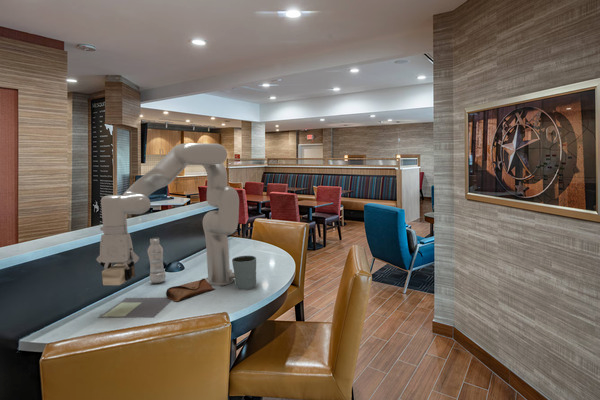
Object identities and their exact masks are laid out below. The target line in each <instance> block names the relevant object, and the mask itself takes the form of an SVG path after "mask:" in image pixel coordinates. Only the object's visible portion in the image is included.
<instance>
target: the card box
mask: <svg viewBox="0 0 600 400" xmlns="http://www.w3.org/2000/svg"><path fill="white" fill-rule="evenodd" d="M125 269H126V268H125V266H124V264H123V263H114V265H113V264H112V266H111V267H109V268H107V269H105V270H104V269H103V270H102V271H101V277H102V285H103V286H121V285H122V284H125V283H126V282H127V281H129V280H127V281H126V280H125ZM135 270H136V269H135V265H134V266H133V267H132V278H131V279H133V278H135V277H136V273H135Z"/></svg>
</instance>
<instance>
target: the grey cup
mask: <svg viewBox="0 0 600 400" xmlns="http://www.w3.org/2000/svg"><path fill="white" fill-rule="evenodd" d="M231 262H232V268H233V269H232V270H233V273H234V276H235V278H234V281H235V283H234V284H235V288H236V289H237V290H244V291H245V289H246V290H251V288H252V289H254V288H256V286H257V257H256V256H254V255H241V256H235V257H233V258H232V259H231Z"/></svg>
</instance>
